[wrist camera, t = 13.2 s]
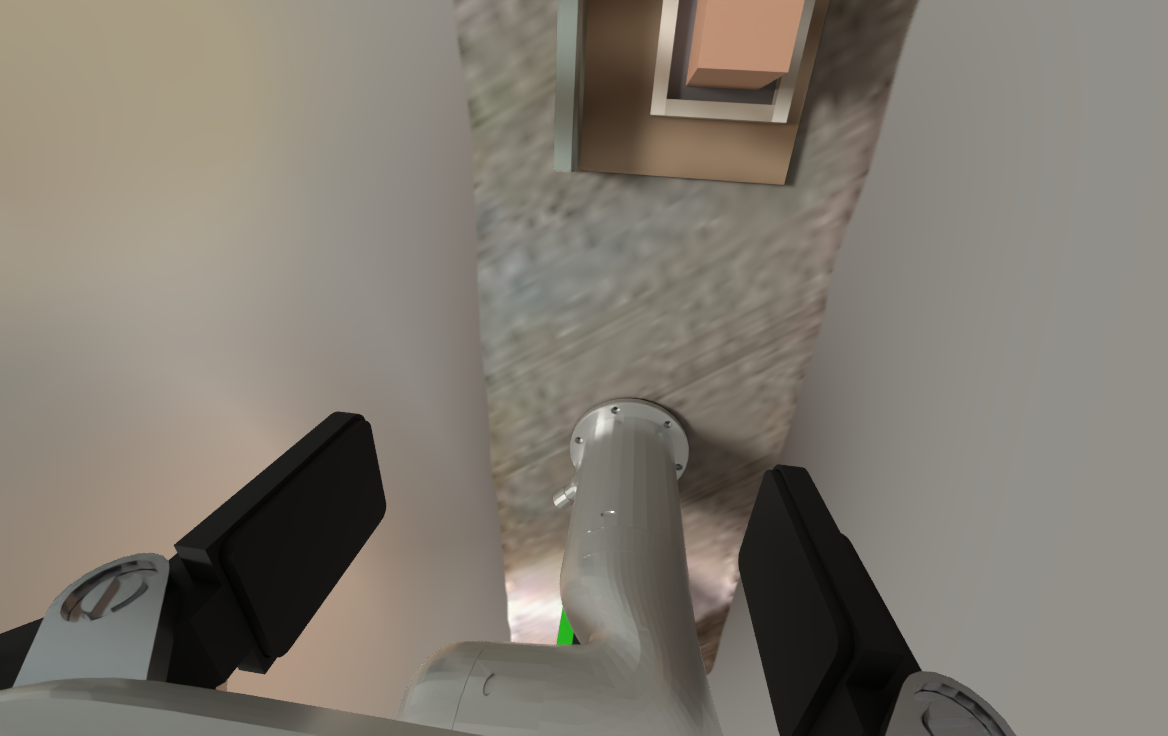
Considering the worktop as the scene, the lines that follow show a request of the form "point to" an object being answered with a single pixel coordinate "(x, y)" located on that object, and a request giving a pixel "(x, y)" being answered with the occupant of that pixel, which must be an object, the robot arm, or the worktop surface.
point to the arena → (669, 96)
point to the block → (742, 42)
